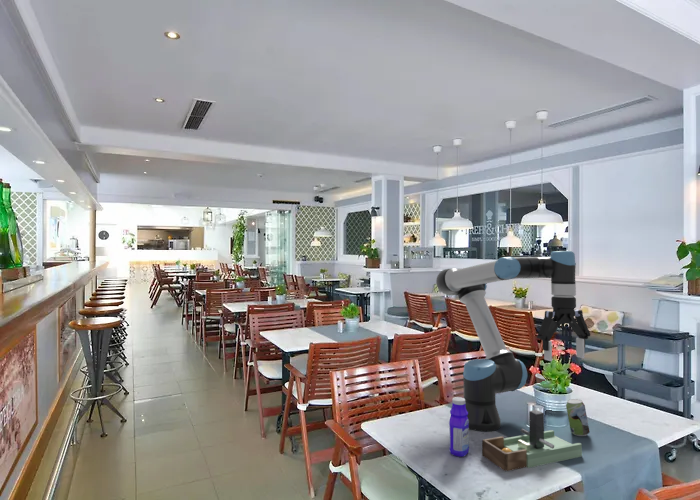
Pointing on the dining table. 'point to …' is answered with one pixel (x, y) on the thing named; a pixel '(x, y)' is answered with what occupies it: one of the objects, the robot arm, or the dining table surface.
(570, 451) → the pitch
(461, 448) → the bottle
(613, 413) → the dining table surface
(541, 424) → the kicker
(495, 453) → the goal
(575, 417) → the beverage can
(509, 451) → the ball
